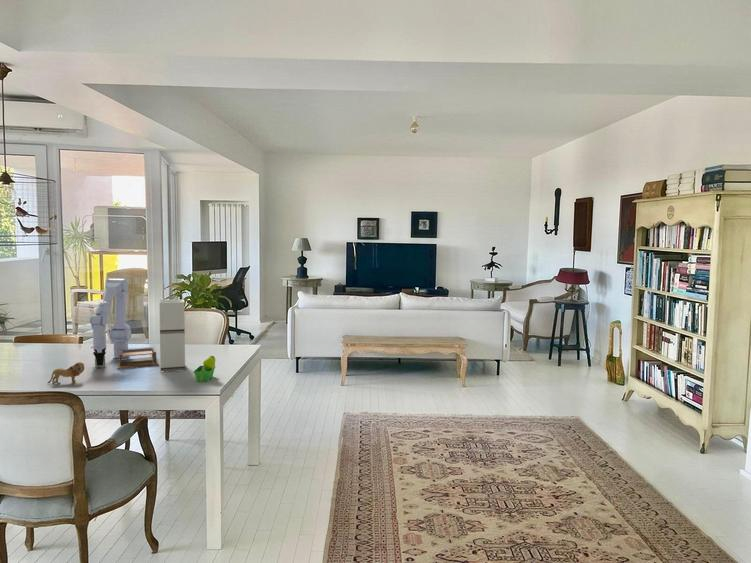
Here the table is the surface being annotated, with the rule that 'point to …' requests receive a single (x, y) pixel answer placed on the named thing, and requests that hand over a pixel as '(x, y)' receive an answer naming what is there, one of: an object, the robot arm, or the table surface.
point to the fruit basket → (205, 370)
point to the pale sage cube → (100, 365)
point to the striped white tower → (172, 335)
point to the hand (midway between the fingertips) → (100, 363)
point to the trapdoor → (137, 351)
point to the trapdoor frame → (137, 361)
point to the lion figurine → (68, 372)
